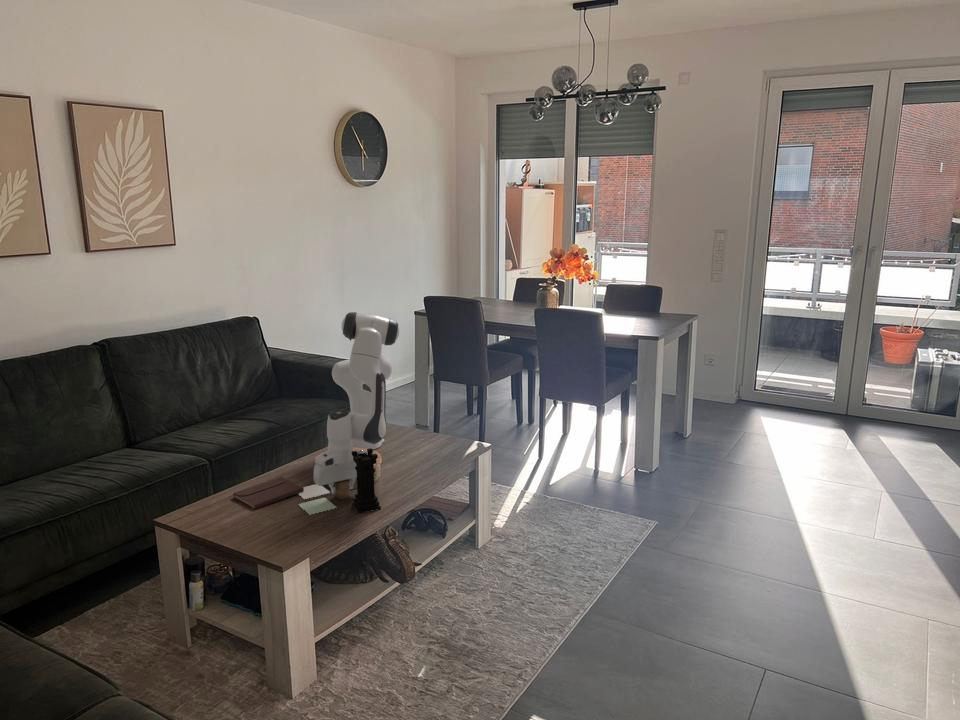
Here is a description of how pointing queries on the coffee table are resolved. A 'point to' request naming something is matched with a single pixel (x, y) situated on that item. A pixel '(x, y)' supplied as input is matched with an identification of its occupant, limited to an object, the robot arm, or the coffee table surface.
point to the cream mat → (313, 491)
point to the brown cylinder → (342, 489)
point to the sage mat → (317, 506)
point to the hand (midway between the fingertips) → (342, 490)
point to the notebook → (268, 492)
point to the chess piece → (365, 482)
